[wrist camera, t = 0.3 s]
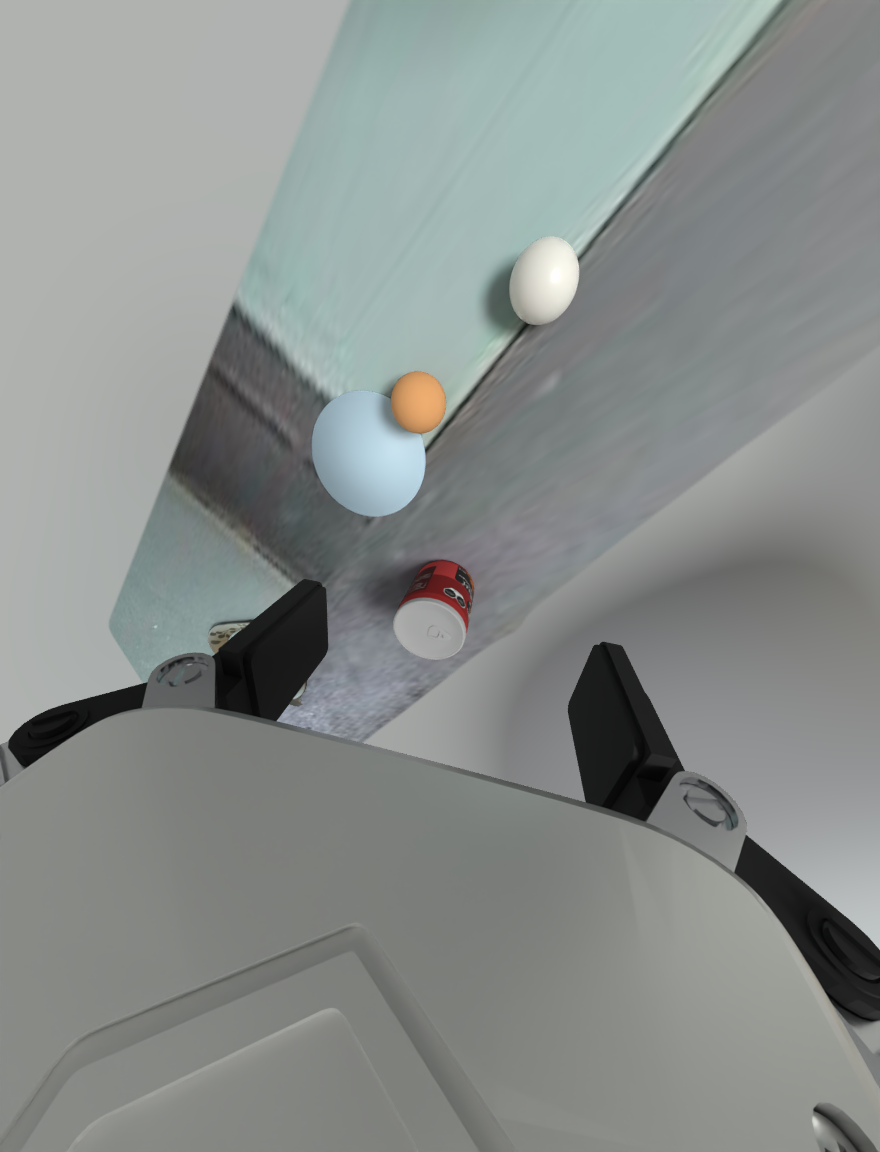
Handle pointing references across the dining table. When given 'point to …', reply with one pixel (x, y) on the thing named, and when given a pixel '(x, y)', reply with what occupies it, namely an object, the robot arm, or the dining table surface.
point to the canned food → (435, 611)
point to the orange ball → (418, 402)
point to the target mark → (367, 454)
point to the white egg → (544, 280)
